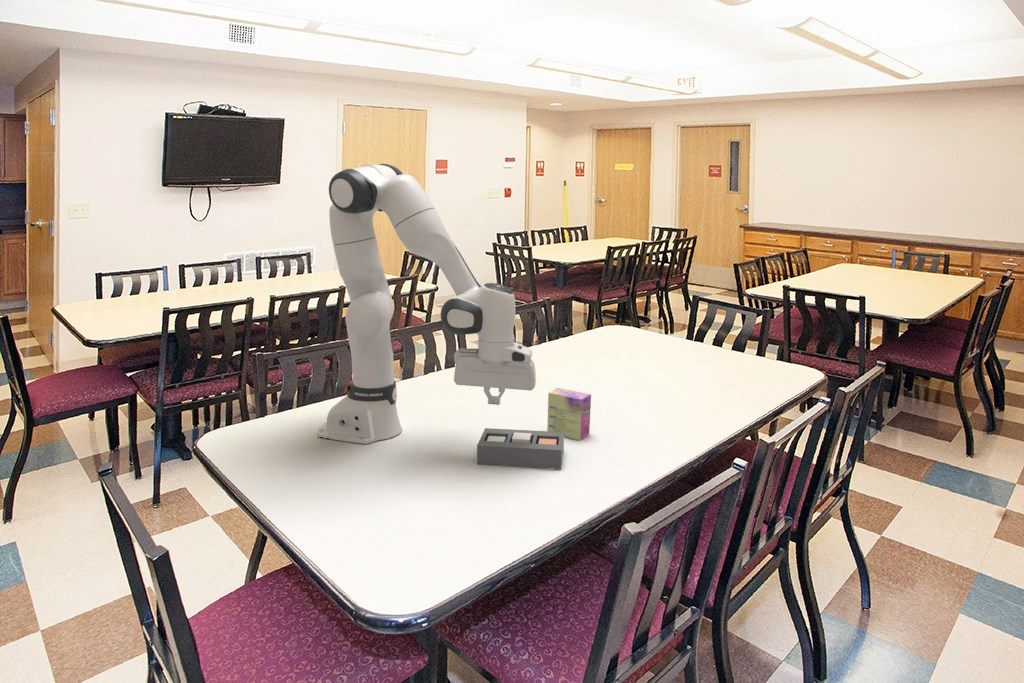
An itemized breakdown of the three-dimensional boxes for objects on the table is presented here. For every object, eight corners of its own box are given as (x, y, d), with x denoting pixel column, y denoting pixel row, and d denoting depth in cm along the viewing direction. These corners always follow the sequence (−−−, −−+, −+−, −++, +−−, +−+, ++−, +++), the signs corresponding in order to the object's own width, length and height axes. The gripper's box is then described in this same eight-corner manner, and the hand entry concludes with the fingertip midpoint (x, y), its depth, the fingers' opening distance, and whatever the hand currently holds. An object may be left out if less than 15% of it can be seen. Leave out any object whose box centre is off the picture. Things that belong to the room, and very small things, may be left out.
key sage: (486, 449, 173) (486, 442, 172) (488, 442, 177) (488, 435, 176) (503, 450, 172) (503, 443, 172) (505, 443, 176) (505, 436, 176)
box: (590, 434, 190) (591, 393, 187) (580, 441, 185) (581, 399, 182) (556, 427, 195) (557, 387, 192) (546, 433, 191) (547, 392, 188)
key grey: (511, 445, 171) (511, 438, 171) (514, 439, 176) (514, 432, 175) (529, 446, 171) (529, 439, 170) (531, 440, 175) (531, 433, 175)
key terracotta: (537, 451, 171) (537, 445, 171) (539, 445, 175) (539, 438, 175) (555, 452, 170) (555, 445, 170) (556, 446, 175) (556, 439, 174)
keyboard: (477, 464, 170) (477, 445, 169) (485, 446, 181) (485, 428, 180) (560, 469, 167) (561, 450, 166) (563, 450, 179) (564, 432, 178)
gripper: (451, 350, 167) (450, 404, 170) (535, 356, 165) (532, 411, 168) (456, 344, 173) (455, 396, 176) (538, 350, 171) (535, 403, 174)
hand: (493, 403), depth 172 cm, fingers closed
